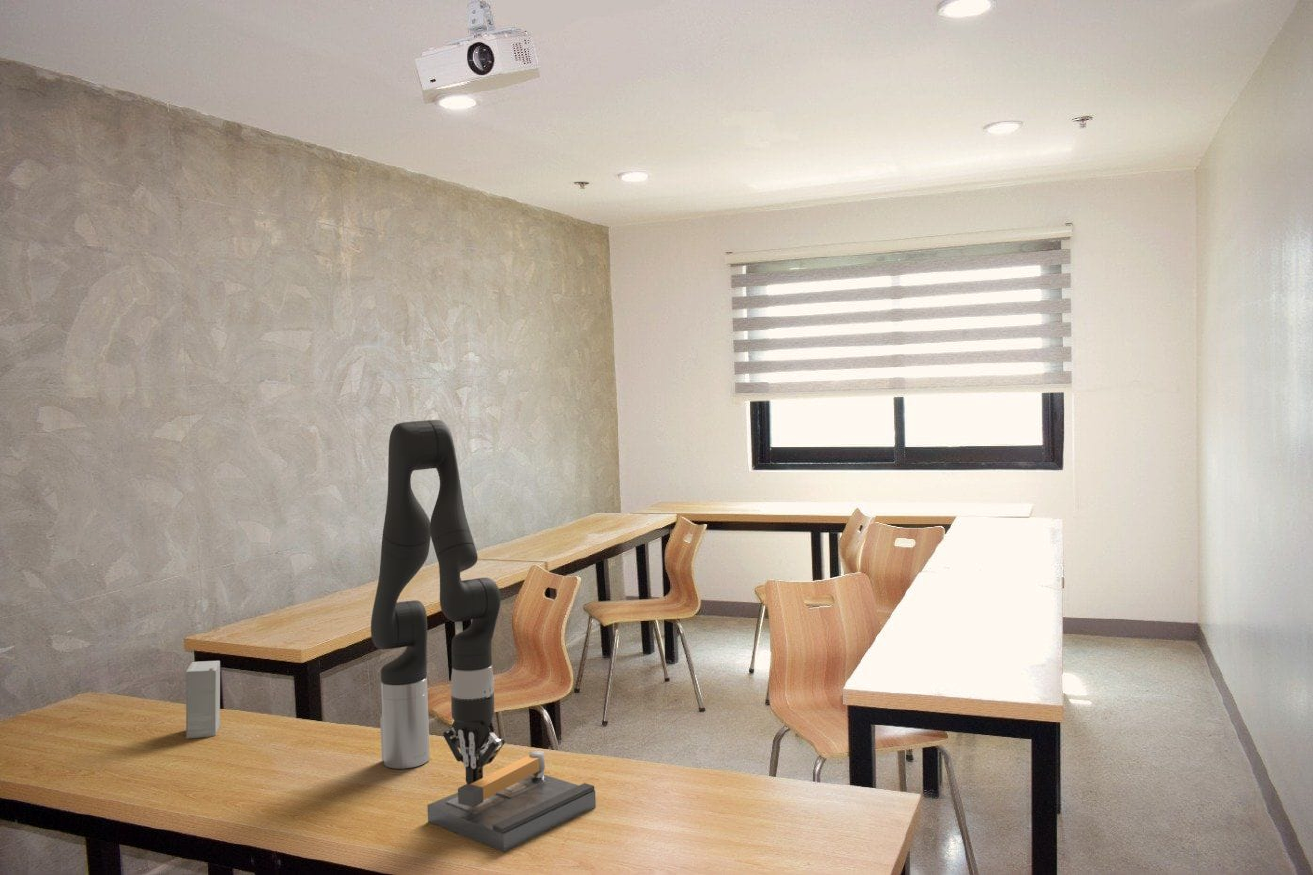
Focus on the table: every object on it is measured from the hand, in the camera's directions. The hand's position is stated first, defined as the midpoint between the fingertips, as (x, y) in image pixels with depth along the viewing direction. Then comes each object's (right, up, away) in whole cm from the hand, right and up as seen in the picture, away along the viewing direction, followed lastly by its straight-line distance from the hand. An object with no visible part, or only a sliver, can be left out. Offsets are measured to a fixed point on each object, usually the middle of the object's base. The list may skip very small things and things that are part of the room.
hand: (474, 786), depth 173 cm
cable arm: (+5, -1, +2) cm, 6 cm away
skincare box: (-72, -6, +50) cm, 88 cm away
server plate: (+7, -5, 0) cm, 8 cm away
